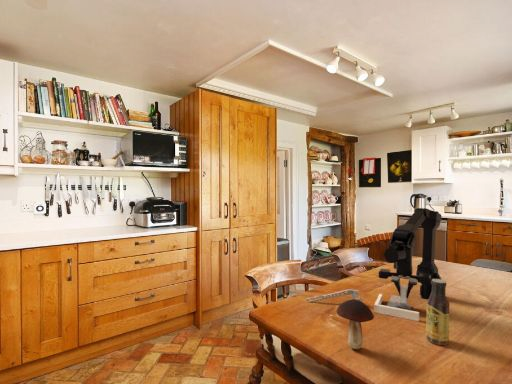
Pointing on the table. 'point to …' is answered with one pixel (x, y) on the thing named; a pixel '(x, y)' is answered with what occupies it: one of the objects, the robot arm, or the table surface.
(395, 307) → the pad
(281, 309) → the table surface
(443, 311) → the sauce bottle
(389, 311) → the white l-shaped block
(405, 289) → the aluminium bracket
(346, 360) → the table surface
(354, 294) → the bracket
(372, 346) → the table surface
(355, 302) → the decorative mushroom
